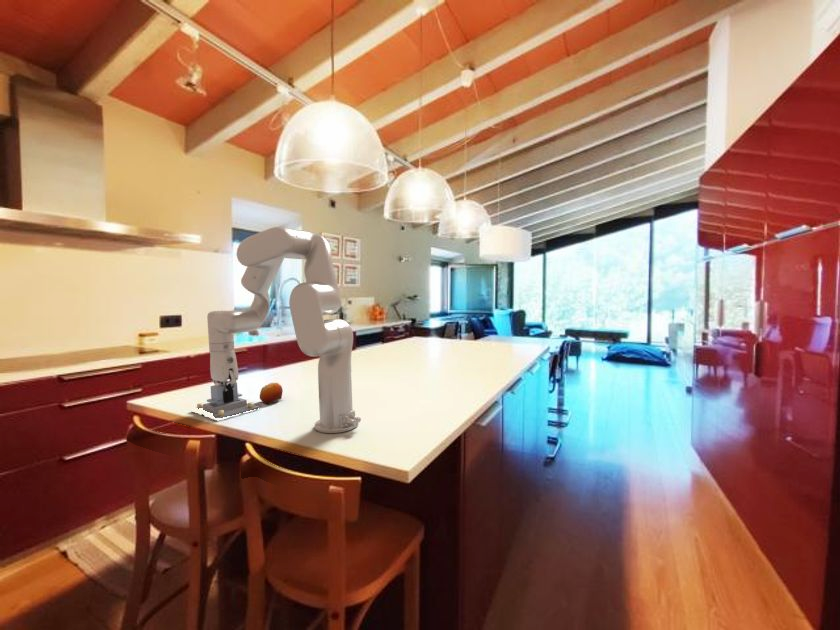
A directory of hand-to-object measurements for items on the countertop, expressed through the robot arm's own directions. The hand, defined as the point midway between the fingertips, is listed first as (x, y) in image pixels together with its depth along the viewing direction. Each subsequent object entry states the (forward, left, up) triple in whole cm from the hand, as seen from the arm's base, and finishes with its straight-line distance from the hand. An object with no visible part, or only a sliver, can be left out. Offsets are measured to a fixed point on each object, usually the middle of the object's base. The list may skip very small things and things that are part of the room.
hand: (225, 400), depth 132 cm
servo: (0, 0, -2) cm, 2 cm away
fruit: (-4, -15, -4) cm, 16 cm away
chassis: (0, 0, -4) cm, 4 cm away
